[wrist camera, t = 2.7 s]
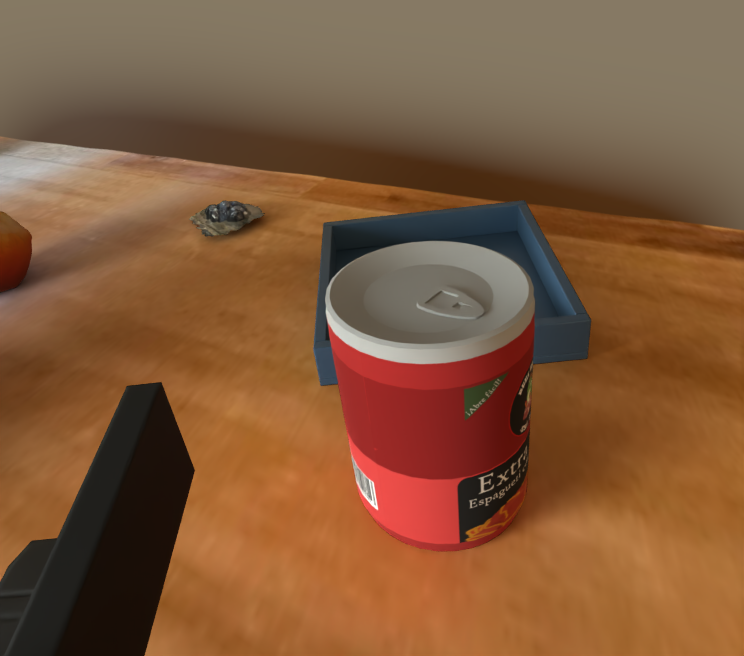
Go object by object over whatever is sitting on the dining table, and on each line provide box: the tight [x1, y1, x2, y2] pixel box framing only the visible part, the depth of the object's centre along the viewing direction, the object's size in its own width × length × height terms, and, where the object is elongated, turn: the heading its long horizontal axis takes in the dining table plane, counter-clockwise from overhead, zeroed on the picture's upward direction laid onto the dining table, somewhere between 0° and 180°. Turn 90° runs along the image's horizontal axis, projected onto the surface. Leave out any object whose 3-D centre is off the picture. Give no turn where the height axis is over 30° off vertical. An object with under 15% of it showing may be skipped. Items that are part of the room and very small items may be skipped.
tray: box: [313, 201, 591, 386], centre depth 43 cm, size 16×15×3 cm
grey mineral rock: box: [189, 201, 265, 236], centre depth 58 cm, size 7×8×2 cm
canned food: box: [325, 241, 535, 551], centre depth 27 cm, size 8×8×11 cm
